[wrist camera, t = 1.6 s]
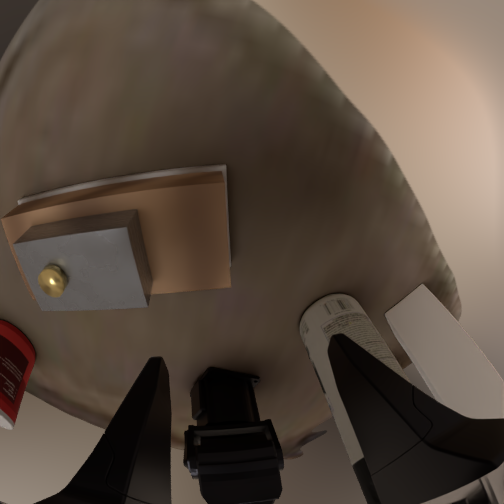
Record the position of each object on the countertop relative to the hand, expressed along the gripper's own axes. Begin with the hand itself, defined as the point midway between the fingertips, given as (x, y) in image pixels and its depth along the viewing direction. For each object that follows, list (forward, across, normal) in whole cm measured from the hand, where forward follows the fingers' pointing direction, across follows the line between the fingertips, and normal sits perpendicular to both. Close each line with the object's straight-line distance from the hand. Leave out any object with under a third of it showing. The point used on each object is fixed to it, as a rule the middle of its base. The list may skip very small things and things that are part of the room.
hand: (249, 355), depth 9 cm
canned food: (+12, +28, +13) cm, 33 cm away
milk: (+12, -21, +13) cm, 28 cm away
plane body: (+12, +8, 0) cm, 14 cm away
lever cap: (+8, +9, 0) cm, 12 cm away
